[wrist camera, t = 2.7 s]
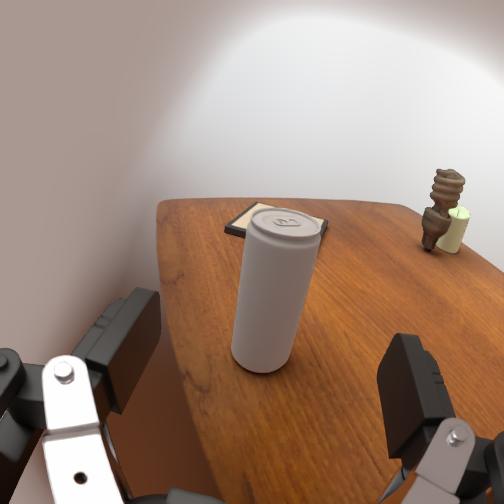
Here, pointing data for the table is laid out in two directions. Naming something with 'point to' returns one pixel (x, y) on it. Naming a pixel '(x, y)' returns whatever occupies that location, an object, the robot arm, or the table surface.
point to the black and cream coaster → (241, 221)
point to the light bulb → (441, 206)
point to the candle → (454, 230)
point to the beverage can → (273, 286)
